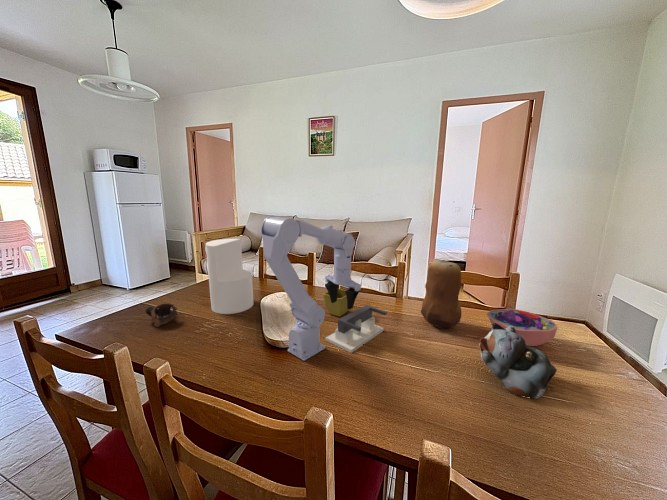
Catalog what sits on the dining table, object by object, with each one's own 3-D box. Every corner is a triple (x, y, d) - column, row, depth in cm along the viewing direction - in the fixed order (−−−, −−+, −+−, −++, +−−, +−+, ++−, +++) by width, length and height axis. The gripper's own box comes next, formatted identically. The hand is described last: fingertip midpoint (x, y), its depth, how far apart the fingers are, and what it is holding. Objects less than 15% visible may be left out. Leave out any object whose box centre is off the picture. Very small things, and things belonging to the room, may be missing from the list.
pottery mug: (183, 315, 112) (182, 302, 107) (171, 335, 105) (169, 323, 100) (152, 309, 111) (149, 295, 106) (138, 329, 104) (134, 315, 99)
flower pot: (340, 320, 108) (340, 298, 106) (322, 314, 114) (322, 293, 112) (352, 312, 115) (353, 292, 113) (335, 307, 120) (336, 287, 118)
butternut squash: (452, 318, 111) (459, 257, 105) (464, 335, 98) (473, 267, 92) (417, 316, 112) (421, 256, 107) (424, 333, 99) (430, 265, 94)
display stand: (351, 352, 87) (351, 334, 86) (325, 340, 94) (325, 323, 93) (383, 330, 101) (384, 314, 99) (359, 321, 108) (359, 306, 107)
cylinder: (202, 310, 116) (195, 244, 110) (228, 295, 132) (224, 237, 126) (237, 316, 111) (232, 247, 105) (261, 300, 127) (257, 240, 121)
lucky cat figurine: (532, 409, 65) (502, 348, 65) (483, 393, 77) (459, 342, 78) (568, 370, 72) (540, 315, 72) (517, 361, 84) (495, 314, 84)
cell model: (566, 359, 84) (573, 325, 82) (494, 351, 88) (499, 319, 86) (538, 332, 100) (543, 303, 98) (478, 326, 104) (482, 298, 102)
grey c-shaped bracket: (358, 340, 86) (359, 328, 85) (337, 330, 91) (337, 319, 90) (386, 322, 97) (386, 311, 97) (366, 315, 103) (366, 304, 102)
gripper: (366, 269, 92) (365, 307, 95) (334, 261, 102) (334, 296, 105) (353, 274, 87) (352, 314, 90) (321, 265, 97) (321, 301, 100)
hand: (341, 305), depth 97 cm, fingers open, 7 cm apart
